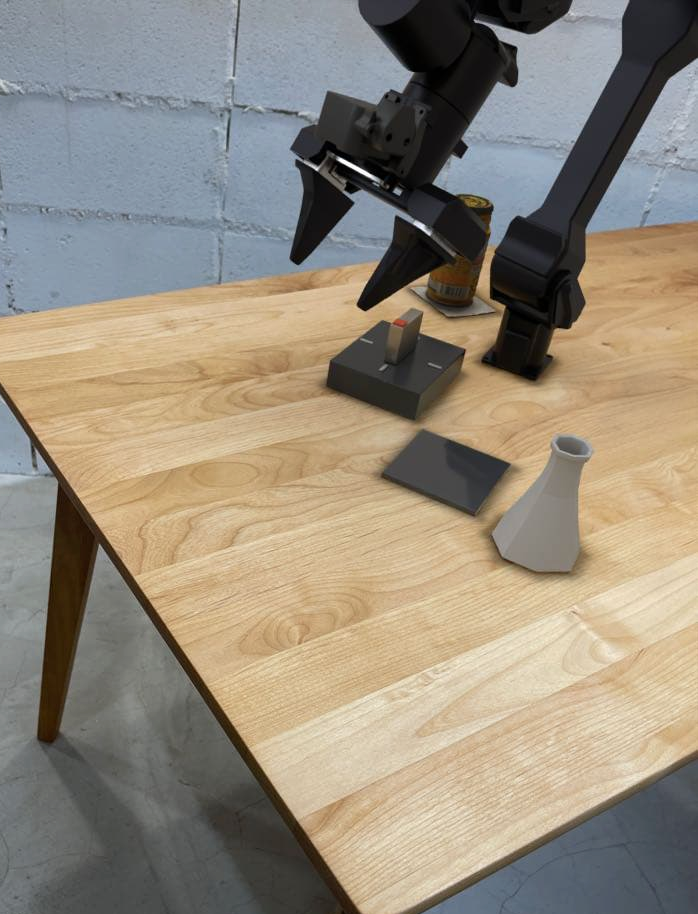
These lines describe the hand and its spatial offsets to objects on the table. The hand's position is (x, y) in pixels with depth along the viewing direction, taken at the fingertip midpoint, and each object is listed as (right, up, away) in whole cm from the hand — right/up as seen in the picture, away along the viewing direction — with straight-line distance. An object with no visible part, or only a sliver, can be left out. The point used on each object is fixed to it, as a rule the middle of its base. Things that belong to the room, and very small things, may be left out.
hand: (325, 285), depth 69 cm
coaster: (+11, -15, +7) cm, 20 cm away
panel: (+8, -4, +19) cm, 21 cm away
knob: (+8, -2, +17) cm, 19 cm away
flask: (+17, -21, +1) cm, 27 cm away
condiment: (+17, +9, +36) cm, 41 cm away
